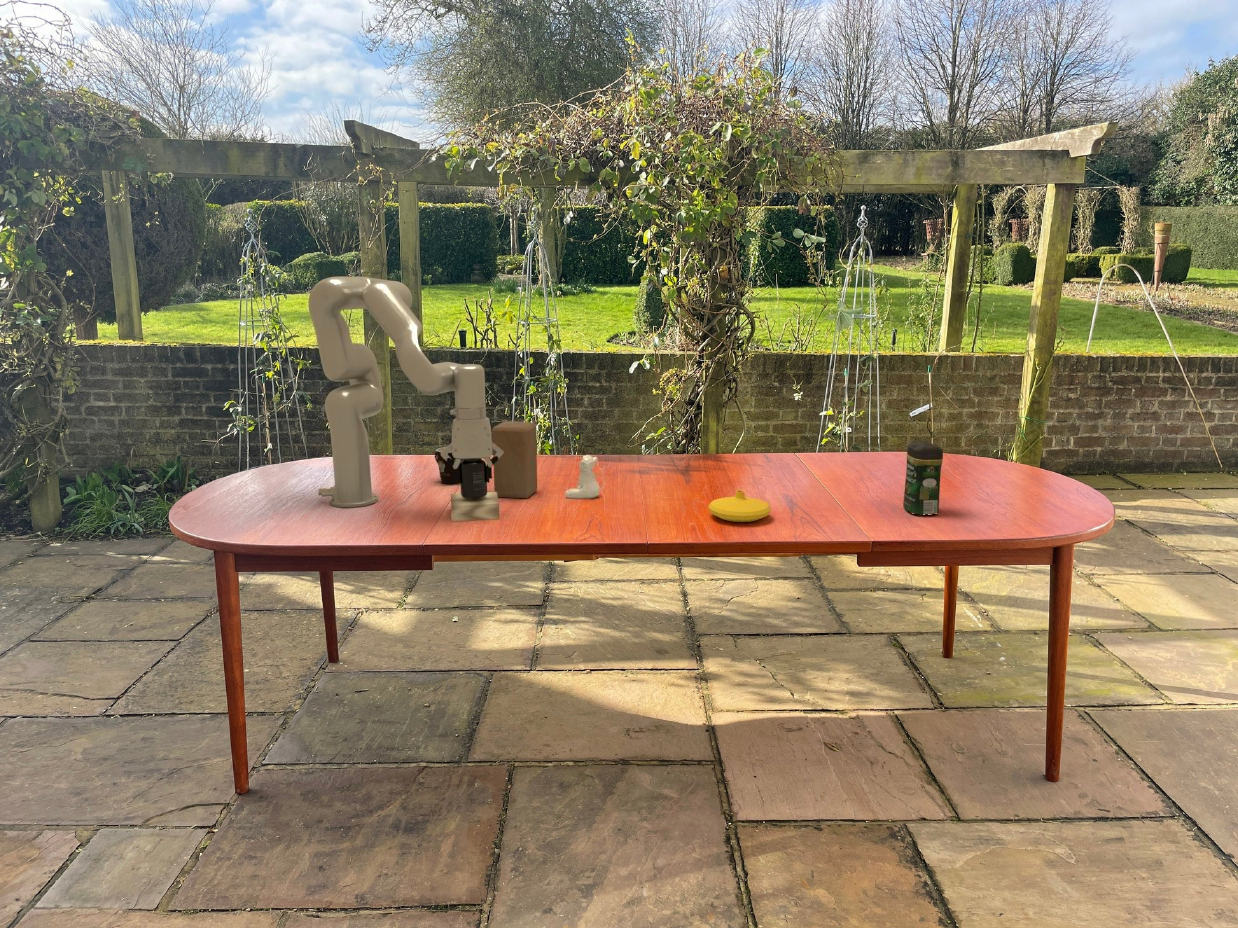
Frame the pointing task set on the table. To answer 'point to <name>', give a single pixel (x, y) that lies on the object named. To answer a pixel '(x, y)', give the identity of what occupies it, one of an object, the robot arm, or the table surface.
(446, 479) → the coffee mug
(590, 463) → the seated beast figurine
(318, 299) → the robot arm
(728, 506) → the vase
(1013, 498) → the table surface
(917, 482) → the coffee jar
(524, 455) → the block
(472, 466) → the supplement bottle
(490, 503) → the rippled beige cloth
